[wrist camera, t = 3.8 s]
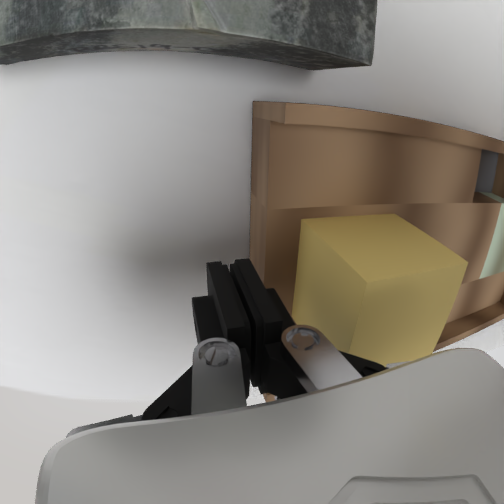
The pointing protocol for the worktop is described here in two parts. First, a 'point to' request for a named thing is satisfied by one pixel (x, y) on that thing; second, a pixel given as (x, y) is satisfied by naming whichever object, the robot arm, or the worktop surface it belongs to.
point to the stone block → (194, 29)
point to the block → (375, 285)
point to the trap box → (379, 194)
